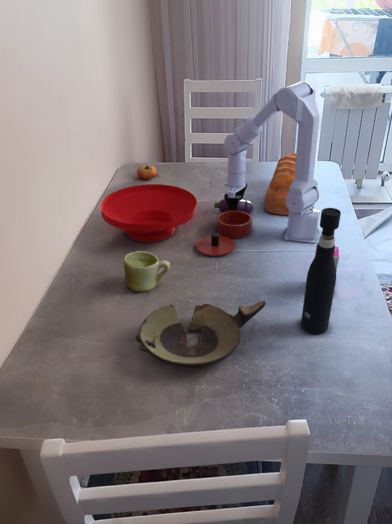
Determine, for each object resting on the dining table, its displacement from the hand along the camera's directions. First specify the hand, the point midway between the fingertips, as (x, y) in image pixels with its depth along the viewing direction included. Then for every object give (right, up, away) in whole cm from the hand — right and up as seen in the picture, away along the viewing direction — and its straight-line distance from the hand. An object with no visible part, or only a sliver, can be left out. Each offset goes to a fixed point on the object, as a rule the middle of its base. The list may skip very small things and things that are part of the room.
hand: (235, 209), depth 166 cm
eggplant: (0, -1, +1) cm, 2 cm away
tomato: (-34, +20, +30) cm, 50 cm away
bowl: (-28, -9, -7) cm, 30 cm away
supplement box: (+20, -29, -36) cm, 51 cm away
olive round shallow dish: (-12, -44, -53) cm, 70 cm away
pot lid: (-8, -15, -18) cm, 25 cm away
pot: (-1, -9, -9) cm, 12 cm away
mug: (-27, -28, -32) cm, 50 cm away
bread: (+20, +7, +11) cm, 24 cm away
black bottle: (+15, -39, -49) cm, 65 cm away
